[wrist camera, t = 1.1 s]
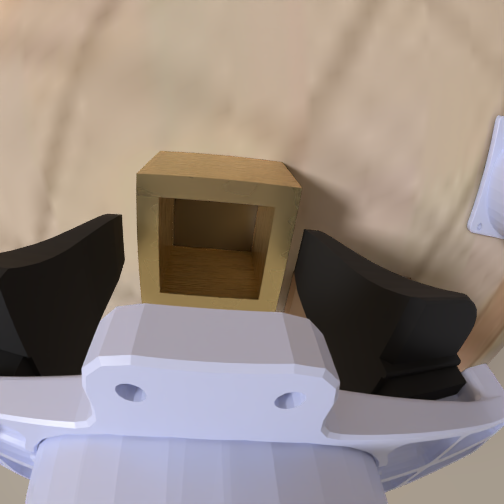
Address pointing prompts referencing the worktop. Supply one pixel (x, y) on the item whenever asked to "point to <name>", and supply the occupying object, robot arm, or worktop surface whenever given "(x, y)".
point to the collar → (206, 259)
